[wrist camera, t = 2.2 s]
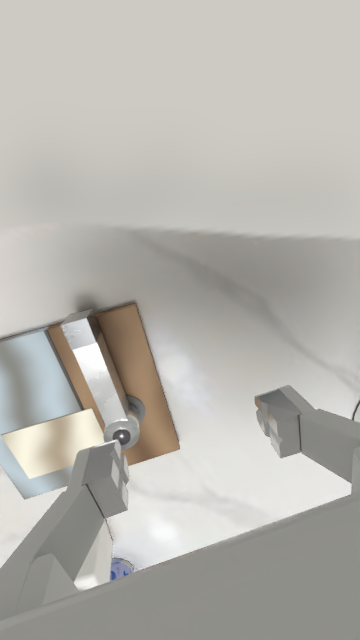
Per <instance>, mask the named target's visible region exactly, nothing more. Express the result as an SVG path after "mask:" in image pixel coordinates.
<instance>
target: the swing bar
mask: <svg viewBox="0 0 360 640" xmlns="http://www.w3.org/2000/svg"><path fill="white" fill-rule="evenodd" d="M60 326H61V328H62V330H63V332H64V335H65V337H66V339H67V341H68V344H69V346H70V348H71V350H73V353H74V355H75V357H76V359H77V362H78V364H79V366H80V368H81V371H82V373H83V375H84V377H85V380H86V382H87V384H88V386H89V389H90V391H91V393H92V395H93V398H94V400H95V402H96V405H97V407H98V409H99V411H100V414H101V416H102V418H103V420H104V423H105V430H104V436H103V438H104V442H105V443H106V442H110V441H113V440H118V441H119V443H120V445H121V450H125V449H128V448H130V447H132V446H134V445H135V444H136V443H137V441H138V439H139V411H138V409H137V408H136V407H135V406H134V405H132V404H129V402H128V400H127V397H126V394H125V392H124V389H123V387H122V384H121V381H120V379H119V376H118V373H117V371H116V368H115V366H114V363H113V360H112V358H111V355H110V353H109V350H108V347H107V345H106V342H105V339H104V337H103V334H102V332H101V329H100V326H99V324H98V321H97V319H96V316H95V313H94V311H93V308H92V309H88V310H85V311H81V312H77V313H74V314H70V315H69V316H68V317H67V318H66V319H65V320H64V322H63V323H62V324H61V325H60Z"/></svg>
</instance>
